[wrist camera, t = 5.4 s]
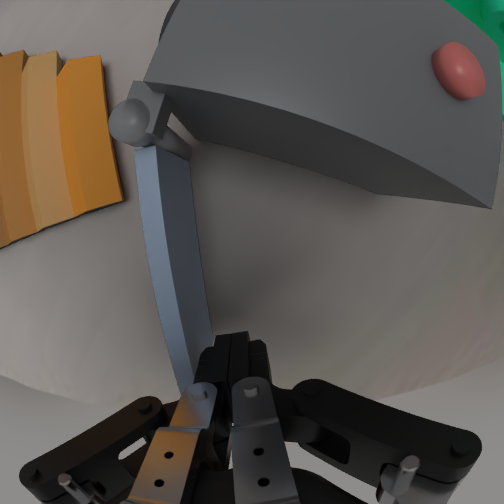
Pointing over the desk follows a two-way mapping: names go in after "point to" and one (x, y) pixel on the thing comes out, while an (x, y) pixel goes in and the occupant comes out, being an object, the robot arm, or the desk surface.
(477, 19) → the camera mount
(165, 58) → the housing
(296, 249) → the desk surface
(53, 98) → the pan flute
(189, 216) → the door
